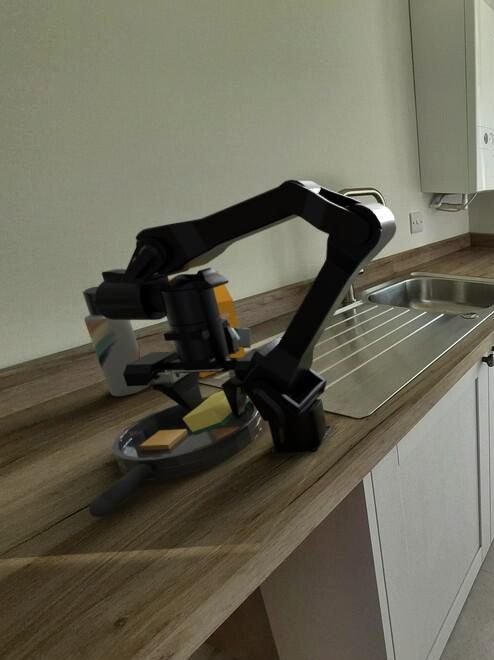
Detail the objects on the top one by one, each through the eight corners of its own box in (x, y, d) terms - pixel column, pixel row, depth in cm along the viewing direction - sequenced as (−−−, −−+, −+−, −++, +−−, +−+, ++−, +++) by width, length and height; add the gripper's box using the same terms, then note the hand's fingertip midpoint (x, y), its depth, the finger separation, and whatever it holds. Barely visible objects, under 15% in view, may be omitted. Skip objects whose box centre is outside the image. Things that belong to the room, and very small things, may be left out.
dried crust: (188, 433, 63) (186, 429, 63) (169, 449, 59) (167, 444, 59) (160, 434, 63) (159, 430, 63) (140, 450, 59) (138, 446, 59)
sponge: (224, 409, 64) (213, 393, 63) (250, 400, 64) (239, 384, 63) (194, 435, 57) (182, 418, 56) (223, 425, 57) (211, 407, 56)
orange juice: (186, 368, 87) (159, 276, 80) (231, 354, 94) (210, 269, 87) (201, 377, 83) (175, 281, 76) (248, 362, 90) (227, 273, 83)
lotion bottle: (146, 379, 82) (115, 282, 76) (153, 388, 78) (121, 287, 72) (108, 390, 78) (71, 288, 71) (113, 400, 74) (76, 293, 68)
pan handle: (159, 474, 53) (154, 460, 52) (107, 521, 46) (101, 505, 45) (141, 475, 53) (136, 461, 52) (86, 522, 46) (79, 506, 45)
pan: (282, 410, 70) (278, 392, 69) (222, 478, 54) (216, 456, 53) (177, 415, 69) (171, 396, 68) (84, 486, 53) (74, 463, 52)
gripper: (291, 301, 64) (307, 390, 69) (166, 304, 63) (192, 394, 68) (254, 324, 53) (276, 427, 58) (102, 328, 52) (138, 433, 57)
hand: (221, 418), depth 61 cm, fingers closed on sponge, 5 cm apart
